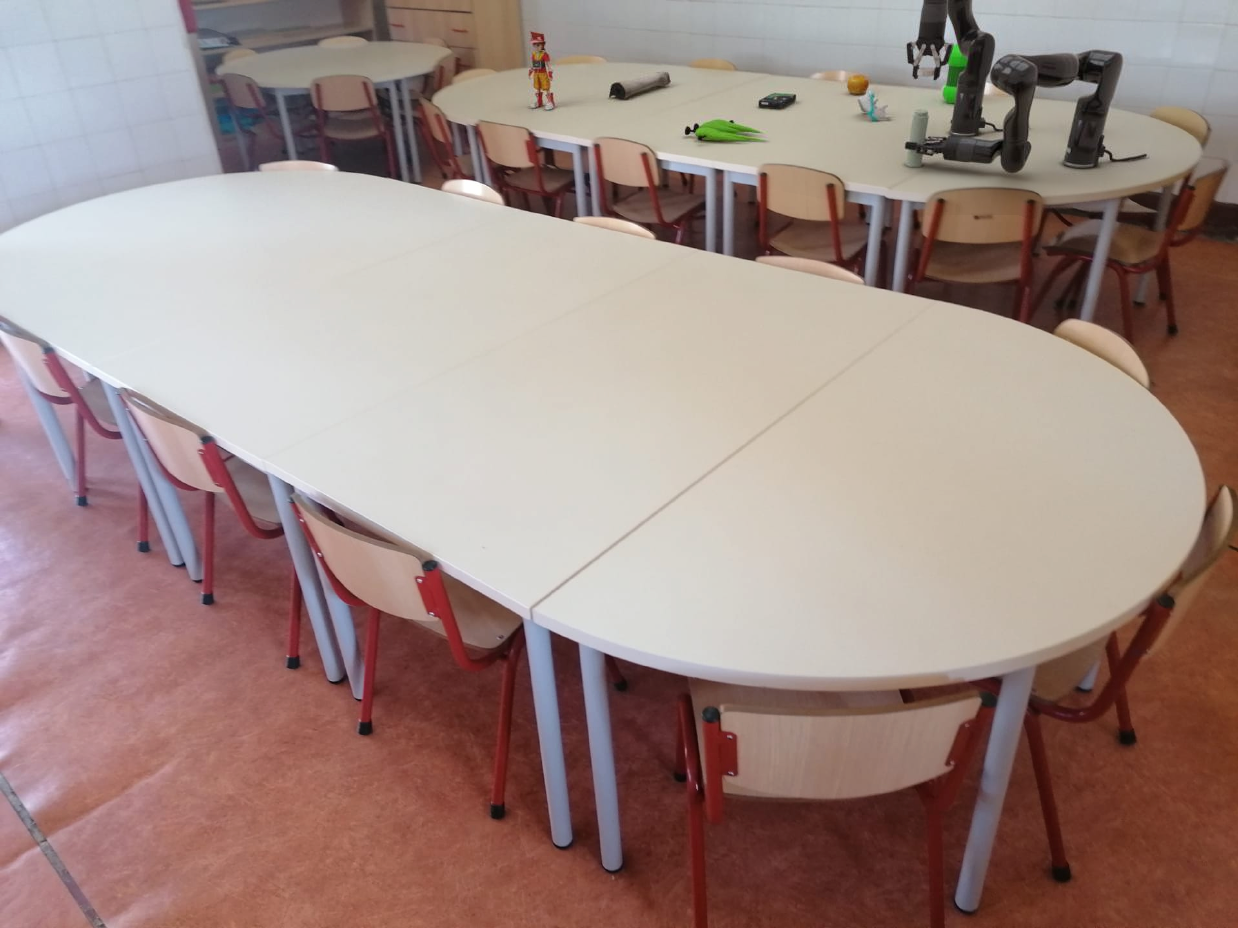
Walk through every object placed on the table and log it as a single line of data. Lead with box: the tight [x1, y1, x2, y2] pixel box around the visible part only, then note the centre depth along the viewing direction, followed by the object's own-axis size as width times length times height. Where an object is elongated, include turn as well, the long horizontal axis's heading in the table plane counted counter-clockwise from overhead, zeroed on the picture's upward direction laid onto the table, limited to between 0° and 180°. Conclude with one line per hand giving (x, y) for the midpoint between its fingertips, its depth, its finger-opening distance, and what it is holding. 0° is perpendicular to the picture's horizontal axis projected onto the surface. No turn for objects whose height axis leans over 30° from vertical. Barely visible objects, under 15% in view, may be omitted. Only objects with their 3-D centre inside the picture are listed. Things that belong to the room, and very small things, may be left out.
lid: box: [917, 66, 935, 78], centre depth 276 cm, size 6×6×2 cm
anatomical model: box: [857, 89, 892, 122], centre depth 341 cm, size 15×10×10 cm
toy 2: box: [684, 119, 767, 142], centre depth 329 cm, size 28×5×30 cm
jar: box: [905, 109, 930, 168], centre depth 287 cm, size 5×5×17 cm
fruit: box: [846, 74, 870, 95], centre depth 372 cm, size 8×8×8 cm
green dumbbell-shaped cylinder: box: [942, 43, 967, 104], centre depth 348 cm, size 10×10×25 cm
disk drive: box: [758, 92, 797, 110], centre depth 365 cm, size 10×3×15 cm
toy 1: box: [527, 31, 556, 111], centre depth 374 cm, size 12×9×30 cm
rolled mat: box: [608, 71, 672, 101], centre depth 395 cm, size 30×9×10 cm
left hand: (925, 79), depth 277 cm, fingers closed on lid, 5 cm apart
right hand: (908, 143), depth 290 cm, fingers closed on jar, 4 cm apart
